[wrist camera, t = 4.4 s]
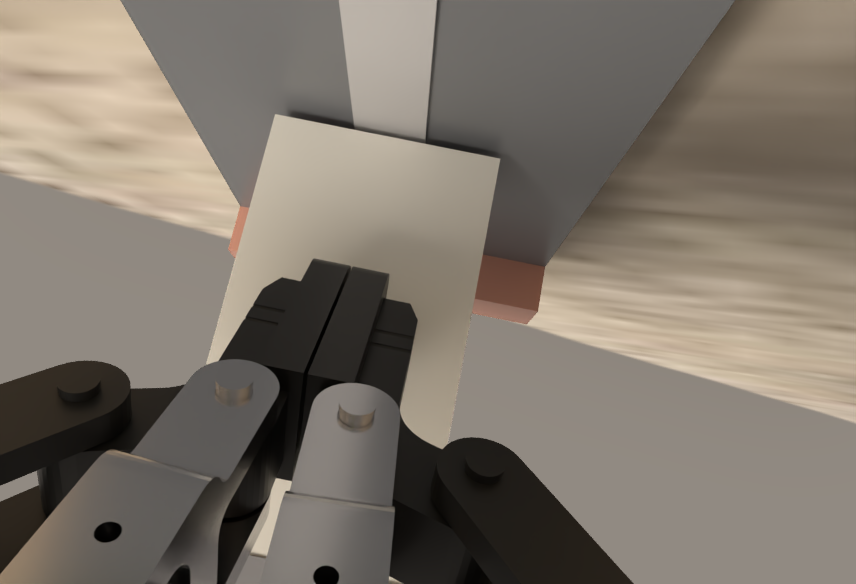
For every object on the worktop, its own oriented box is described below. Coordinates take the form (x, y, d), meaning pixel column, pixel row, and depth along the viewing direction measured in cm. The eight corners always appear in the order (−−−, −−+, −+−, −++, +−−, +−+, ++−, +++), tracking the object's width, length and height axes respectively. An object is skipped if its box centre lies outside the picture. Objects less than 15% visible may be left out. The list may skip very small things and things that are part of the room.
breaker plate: (-381, -1316, 4) (-729, -1029, 3) (1277, -1010, 4) (1357, -636, 3) (266, 174, 26) (241, 267, 25) (542, 229, 26) (526, 324, 25)
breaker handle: (272, 112, 16) (143, 581, 13) (502, 158, 16) (414, 636, 13) (288, 160, 18) (182, 564, 16) (488, 200, 18) (412, 611, 16)
